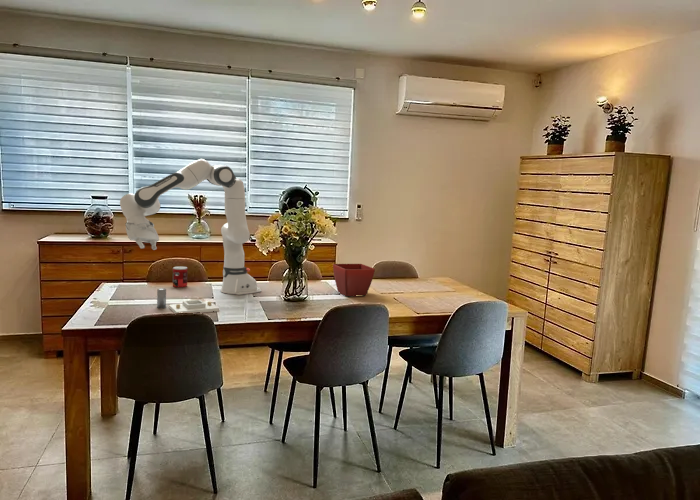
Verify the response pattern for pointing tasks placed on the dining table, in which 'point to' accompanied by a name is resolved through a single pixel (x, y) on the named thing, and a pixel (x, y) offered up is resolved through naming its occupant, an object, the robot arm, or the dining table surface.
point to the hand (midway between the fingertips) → (148, 248)
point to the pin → (161, 298)
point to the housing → (194, 306)
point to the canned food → (180, 276)
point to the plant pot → (353, 278)
